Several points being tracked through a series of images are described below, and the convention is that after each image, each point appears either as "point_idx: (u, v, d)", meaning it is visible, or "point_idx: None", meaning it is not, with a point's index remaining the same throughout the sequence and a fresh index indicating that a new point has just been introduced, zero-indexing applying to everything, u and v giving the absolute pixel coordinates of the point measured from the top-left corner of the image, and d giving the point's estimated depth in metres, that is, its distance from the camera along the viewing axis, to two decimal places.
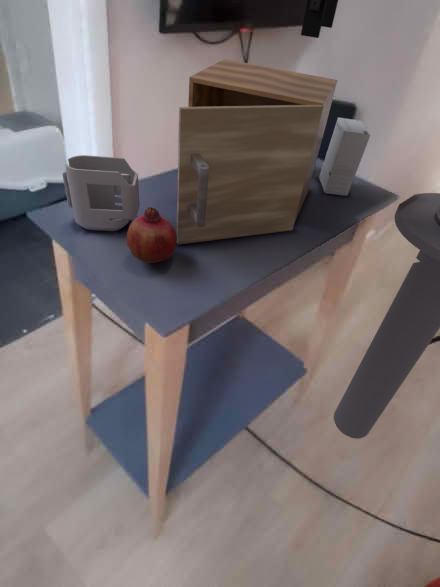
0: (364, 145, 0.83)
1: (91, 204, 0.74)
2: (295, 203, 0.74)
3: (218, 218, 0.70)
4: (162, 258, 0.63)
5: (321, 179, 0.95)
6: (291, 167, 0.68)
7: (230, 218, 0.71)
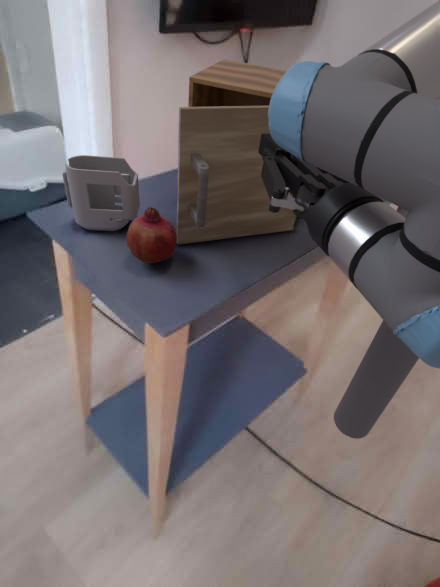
0: None
1: (91, 204, 0.74)
2: None
3: (218, 218, 0.70)
4: (162, 258, 0.63)
5: None
6: None
7: (230, 218, 0.71)
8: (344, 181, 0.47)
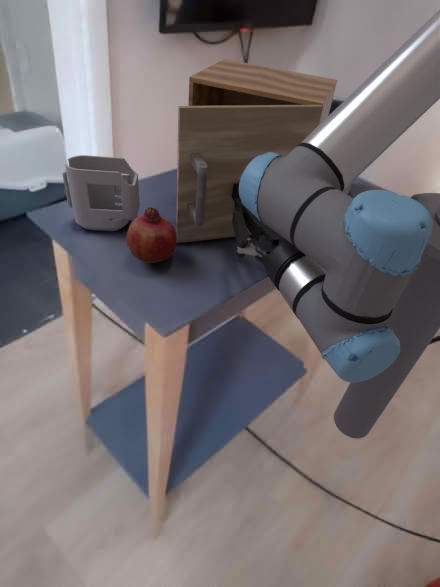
0: None
1: (91, 204, 0.74)
2: None
3: (217, 217, 0.70)
4: (162, 258, 0.63)
5: None
6: None
7: (229, 217, 0.71)
8: None
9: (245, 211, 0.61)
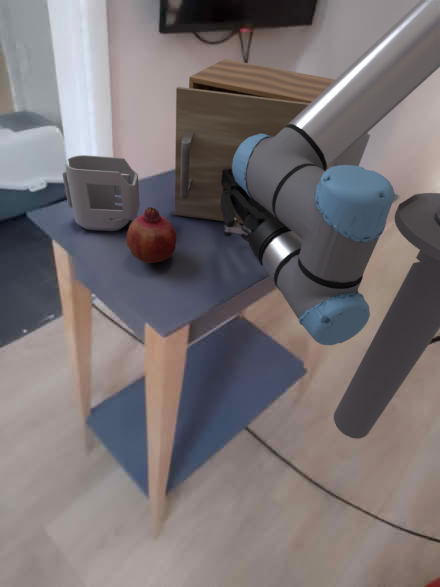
0: (364, 145, 0.83)
1: (91, 204, 0.74)
2: None
3: (213, 199, 0.75)
4: (162, 258, 0.63)
5: None
6: None
7: None
8: None
9: (232, 194, 0.64)
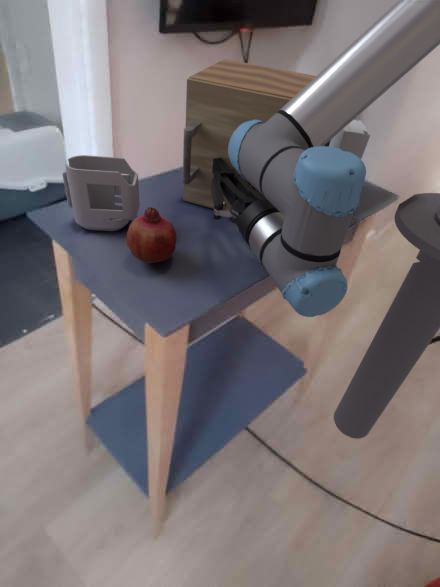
0: (364, 145, 0.83)
1: (91, 204, 0.74)
2: None
3: None
4: (162, 258, 0.63)
5: None
6: None
7: None
8: None
9: (222, 181, 0.68)
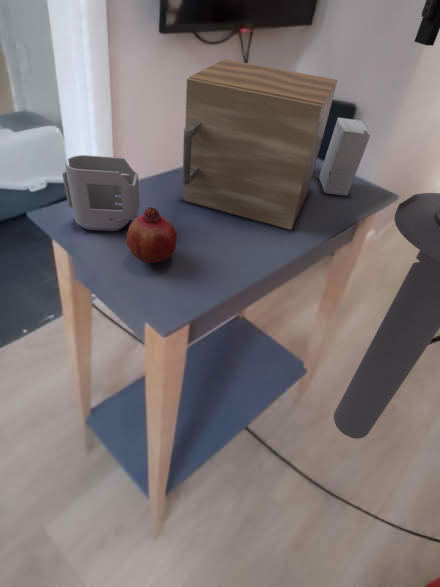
0: (364, 145, 0.83)
1: (91, 204, 0.74)
2: (293, 201, 0.74)
3: (217, 189, 0.78)
4: (162, 258, 0.63)
5: (321, 179, 0.95)
6: (288, 161, 0.70)
7: (228, 193, 0.78)
8: None
9: None
